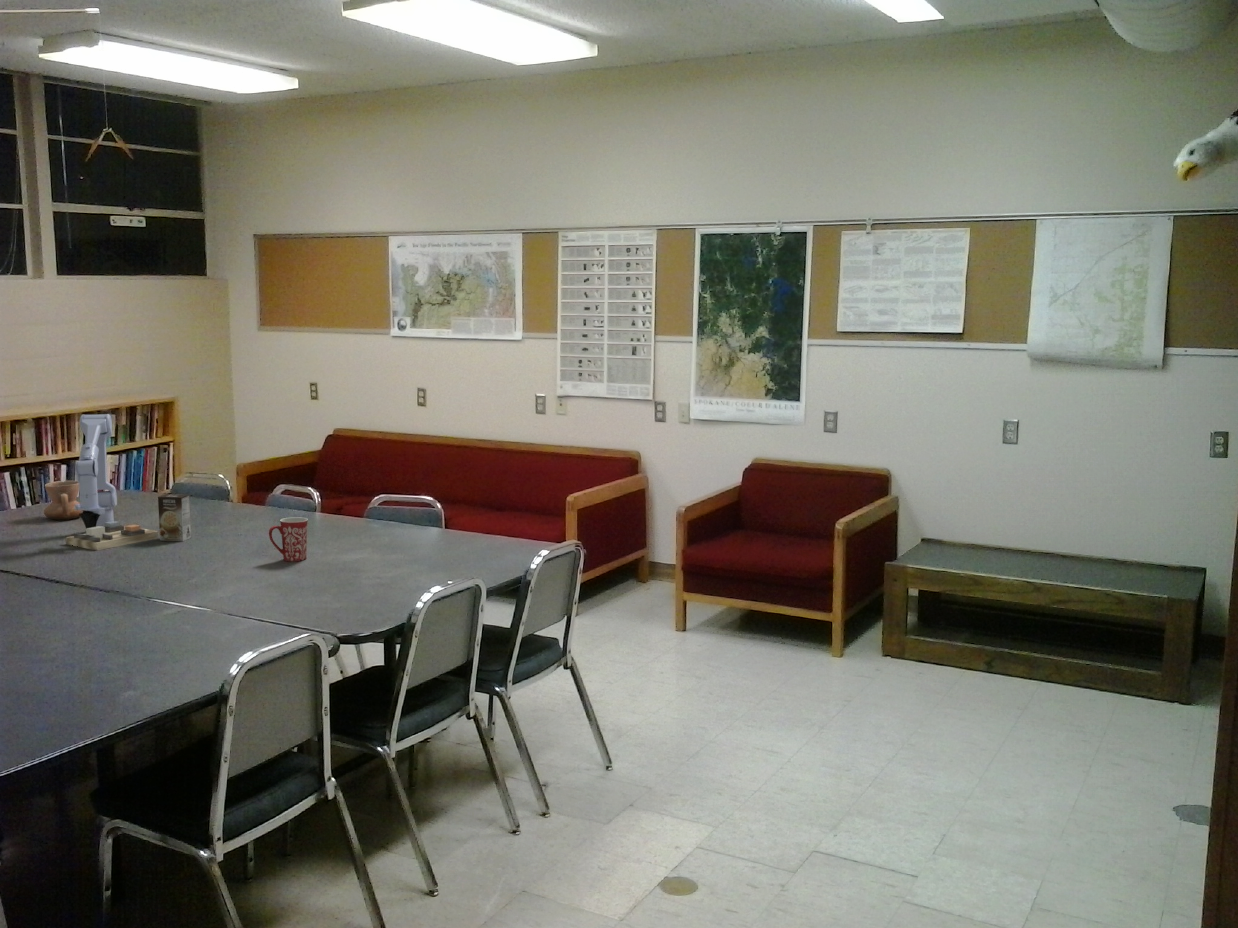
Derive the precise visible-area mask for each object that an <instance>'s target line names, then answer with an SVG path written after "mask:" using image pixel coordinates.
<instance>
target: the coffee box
mask: <svg viewBox="0 0 1238 928" xmlns="http://www.w3.org/2000/svg"><path fill="white" fill-rule="evenodd" d="M157 502H158V503H157V506H158V509H157V510H158V524H159V525H158V527H159V541H164V542H167V541H168V542H170V541H171V542H185V541H188V540H189V539H191V538H192V532H191V529H192V528H191V510H190V509H191V508H190V507H191V506H190V494H182V493H181V494H180V493H175V494H174V493H165V494H162V495H160V496H159V495H158V496H157Z"/></svg>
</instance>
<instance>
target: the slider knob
mask: <svg viewBox="0 0 1238 928" xmlns="http://www.w3.org/2000/svg"><path fill="white" fill-rule="evenodd" d="M85 529H86V530H85V531H86V532H87V535H89V536H94V537H99V538H100V539H103V533H105V527H102V526H97V527H91V528H86V527H85ZM86 532H85V533H86Z"/></svg>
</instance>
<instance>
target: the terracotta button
mask: <svg viewBox="0 0 1238 928" xmlns="http://www.w3.org/2000/svg"><path fill="white" fill-rule="evenodd" d="M124 526H125V530H126V531H137V530H140V528H141V525H138V524H129V525H124Z"/></svg>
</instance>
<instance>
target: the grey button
mask: <svg viewBox="0 0 1238 928" xmlns="http://www.w3.org/2000/svg"><path fill="white" fill-rule="evenodd" d="M120 522H121V521H116V520H114V521H110V522H105V523H104V525H105V527H109V528H112V527H117V526H120V525H121V523H120Z"/></svg>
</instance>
